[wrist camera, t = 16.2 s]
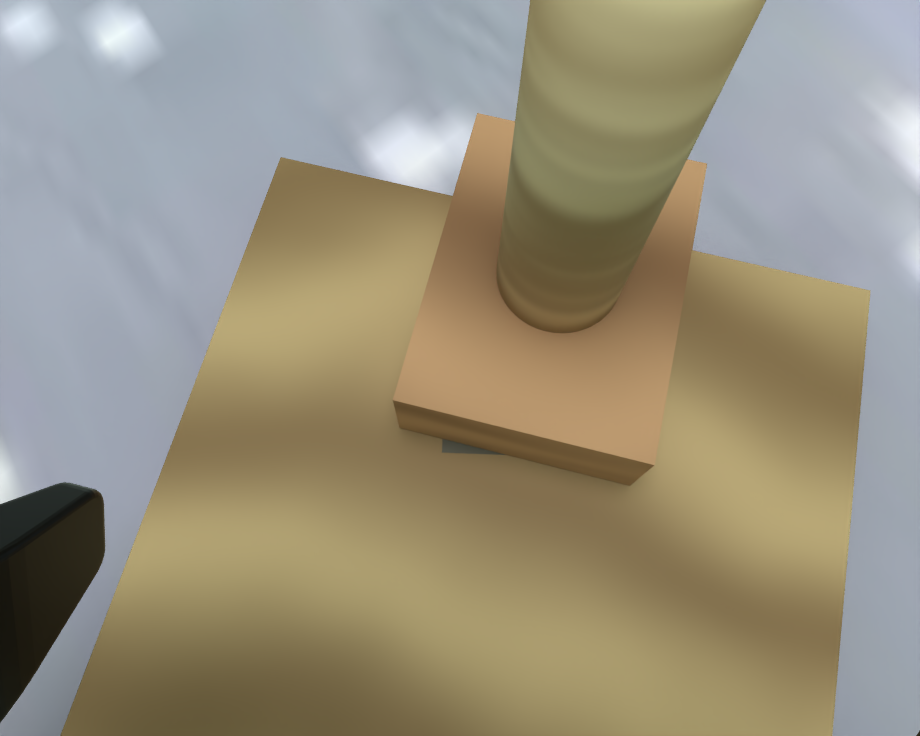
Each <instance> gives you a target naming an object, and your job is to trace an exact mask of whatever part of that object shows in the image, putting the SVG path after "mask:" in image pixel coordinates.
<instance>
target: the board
mask: <svg viewBox="0 0 920 736" xmlns="http://www.w3.org/2000/svg"><path fill="white" fill-rule="evenodd" d="M452 197H453V196H450V195H445V194H441V193H436V192H432V191H428V190H423V189H419V188H414V187H410V186H405V185H401V184H397V183H392V182H388V181H383V180H379V179H375V178H370V177H366V176H361V175H357V174H352V173H348V172H344V171H339V170H335V169H330V168H326V167H322V166H317V165H313V164H308V163H304V162H299V161H295V160H291V159H286V158H282V157H281V158H280V161H279V163H278V166H277V169H276V171H275V174H274V177H273V179H272V182H271V184H270V187H269V190H268V192H267V195H266V198H265V200H264V203H263V205H262V208H261V211H260V213H259V216H258V219H257V221H256V224H255V226H254V229H253V232H252V234H251V237H250V240H249V242H248V245H247V247H246V250H245V253H244V255H243V258H242V261H241V263H240V266H239V268H238V271H237V274H236V276H235V279H234V282H233V284H232V287H231V289H230V292H229V295H228V297H227V300H226V303H225V305H224V308H223V310H222V313H221V316H220V318H219V321H218V324H217V326H216V329H215V331H214V334H213V337H212V339H211V342H210V345H209V347H208V350H207V352H206V355H205V358H204V360H203V363H202V366H201V368H200V371H199V373H198V376H197V379H196V381H195V384H194V387H193V389H192V392H191V394H190V397H189V400H188V402H187V405H186V408H185V410H184V413H183V415H182V418H181V421H180V423H179V426H178V429H177V431H176V434H175V436H174V439H173V442H172V444H171V447H170V450H169V452H168V455H167V457H166V460H165V463H164V465H163V468H162V471H161V473H160V476H159V478H158V481H157V484H156V486H155V489H154V492H153V494H152V497H151V499H150V502H149V505H148V507H147V510H146V513H145V515H144V518H143V520H142V523H141V526H140V528H139V531H138V534H137V536H136V539H135V541H134V544H133V547H132V549H131V552H130V555H129V557H128V560H127V562H126V565H125V568H124V570H123V573H122V576H121V578H120V581H119V583H118V586H117V589H116V591H115V594H114V597H113V599H112V602H111V604H110V607H109V610H108V612H107V615H106V617H105V620H104V623H103V625H102V628H101V631H100V633H99V636H98V638H97V641H96V644H95V646H94V649H93V652H92V654H91V657H90V659H89V662H88V665H87V667H86V670H85V673H84V675H83V678H82V680H81V683H80V686H79V688H78V691H77V694H76V696H75V699H74V701H73V704H72V707H71V709H70V712H69V715H68V717H67V720H66V722H65V725H64V728H63V730H62V733H61V736H832V731H833V719H834V707H835V696H836V684H837V673H838V661H839V649H840V638H841V626H842V614H843V603H844V591H845V580H846V568H847V556H848V545H849V533H850V522H851V510H852V498H853V487H854V475H855V464H856V452H857V440H858V429H859V417H860V405H861V394H862V382H863V371H864V359H865V347H866V336H867V324H868V313H869V301H870V290H865V289H861V288H856V287H852V286H847V285H843V284H839V283H834V282H830V281H825V280H821V279H817V278H812V277H808V276H803V275H799V274H794V273H790V272H786V271H781V270H777V269H772V268H768V267H764V266H759V265H755V264H750V263H746V262H741V261H737V260H733V259H728V258H724V257H719V256H715V255H710V254H706V253H702V252H697V251H693V250H692V253H691V259H690V265H689V271H688V276H687V282H686V288H685V294H684V299H683V305H682V311H681V317H680V323H679V328H678V334H677V340H676V346H675V351H674V357H673V363H672V369H671V374H670V380H669V386H668V392H667V397H666V403H665V409H664V415H663V420H662V426H661V432H660V438H659V443H658V449H657V455H656V461H655V465H654V466H653V467H652V468H651V469H650V470H648V471H647V472H646V473H645V474H644V475H642V476H641V477H640V478H639V479H637V480H636V481H635V482H634V483H633V484H631V485H630V486H628V485H624V484H620V483H616V482H612V481H609V480H605V479H601V478H597V477H593V476H589V475H585V474H581V473H577V472H573V471H569V470H565V469H561V468H557V467H553V466H549V465H545V464H541V463H537V462H533V461H529V460H525V459H521V458H517V457H513V456H509V455H505V454H501V453H497V452H493V451H489V450H485V449H481V448H477V447H473V446H469V445H465V444H461V443H457V442H453V441H449V440H445V439H441V438H437V437H433V436H429V435H425V434H421V433H417V432H413V431H409V430H405V429H401V428H399V424H398V420H397V416H396V412H395V408H394V403H393V397H394V394H395V390H396V387H397V384H398V380H399V377H400V374H401V370H402V367H403V363H404V360H405V357H406V353H407V350H408V346H409V343H410V340H411V336H412V333H413V329H414V326H415V323H416V319H417V316H418V313H419V309H420V306H421V302H422V299H423V296H424V292H425V289H426V285H427V282H428V279H429V275H430V272H431V269H432V265H433V262H434V258H435V255H436V252H437V248H438V245H439V241H440V238H441V235H442V231H443V228H444V225H445V221H446V218H447V214H448V211H449V208H450V204H451V201H452Z"/></svg>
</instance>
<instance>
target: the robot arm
mask: <svg viewBox="0 0 920 736" xmlns="http://www.w3.org/2000/svg"><path fill="white" fill-rule="evenodd" d="M104 553H105V526H104V502H103V497H102V495H101V494H100V492H98V491H97V490H95V489H92V488H88V487H84V486H80V485H76V484H73V483H66V482H64V483H59V484H55V485H53V486H50V487H47V488H44V489H41V490H39V491H36V492H33V493H30V494H28V495H25V496H22V497H19V498H16V499H14V500H11V501H8V502H5V503H3V504H0V722H1V721H2V720H3V718H4V717H5V716H6V715H7V713H8V712H9V710H10V709H11V708H12V706H13V705H14V704H15V702H16V701H17V699H18V698H19V697H20V695H21V694H22V693H23V691H24V690H25V688H26V686H27V685H28V683H29V682H30V680H31V679H32V677H33V676H34V674H35V673H36V671H37V669H38V668H39V666H40V665H41V663H42V661H43V660H44V658H45V656H46V655H47V653H48V652H49V650H50V648H51V647H52V645H53V643H54V642H55V640H56V639H57V637H58V635H59V634H60V632H61V630H62V629H63V627H64V626H65V624H66V622H67V621H68V619H69V617H70V616H71V614H72V613H73V611H74V609H75V608H76V606H77V604H78V603H79V601H80V600H81V598H82V596H83V595H84V593H85V591H86V590H87V588H88V587H89V585H90V583H91V582H92V580H93V578H94V577H95V575H96V574H97V572H98V570H99V568H100V566H101V564H102V561H103V558H104ZM917 736H920V731H919V733H918V734H917Z"/></svg>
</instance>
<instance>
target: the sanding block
mask: <svg viewBox="0 0 920 736" xmlns="http://www.w3.org/2000/svg"><path fill="white" fill-rule="evenodd" d="M765 2H766V0H530V7H529V15H528V23H527V31H526V39H525V47H524V55H523V63H522V71H521V79H520V87H519V95H518V103H517V111H516V119H515V121H510V120H506V119H501V118H497V117H492V116H488V115H483V114H479V113H477V116H476V120H475V123H474V126H473V130H472V133H471V136H470V140H469V143H468V147H467V150H466V153H465V157H464V160H463V164H462V167H461V170H460V174H459V177H458V180H457V184H456V187H455V191H454V194H453V197H452V201H451V204H450V208H449V211H448V214H447V218H446V221H445V225H444V228H443V231H442V235H441V238H440V241H439V245H438V248H437V252H436V255H435V258H434V262H433V265H432V269H431V272H430V275H429V279H428V282H427V285H426V289H425V292H424V296H423V299H422V302H421V306H420V309H419V313H418V316H417V319H416V323H415V326H414V329H413V333H412V336H411V340H410V343H409V346H408V350H407V353H406V357H405V360H404V363H403V367H402V370H401V374H400V377H399V380H398V384H397V387H396V390H395V394H394V397H393V403H394V408H395V412H396V416H397V420H398V424H399V428H401V429H405V430H409V431H413V432H417V433H421V434H425V435H429V436H433V437H437V438H441V439H445V440H449V441H453V442H457V443H461V444H465V445H469V446H473V447H477V448H481V449H485V450H489V451H493V452H497V453H501V454H505V455H509V456H513V457H517V458H521V459H525V460H529V461H533V462H537V463H541V464H545V465H549V466H553V467H557V468H561V469H565V470H569V471H573V472H577V473H581V474H585V475H589V476H593V477H597V478H601V479H605V480H609V481H612V482H616V483H620V484H624V485H628V486H630V485H631V484H633V483H634V482H635V481H636V480H637V479H639V478H640V477H641V476H642V475H644V474H645V473H646V472H647V471H648V470H650V469H651V468H652V467H653V466H654V465H655V461H656V455H657V449H658V443H659V438H660V432H661V426H662V420H663V415H664V409H665V403H666V397H667V392H668V386H669V380H670V374H671V369H672V363H673V357H674V351H675V346H676V340H677V334H678V328H679V323H680V317H681V311H682V305H683V299H684V294H685V288H686V282H687V276H688V271H689V265H690V259H691V253H692V248H693V242H694V236H695V230H696V225H697V219H698V213H699V207H700V202H701V196H702V190H703V184H704V179H705V173H706V167H707V164H706V163H701V162H697V161H692V160H688V159H687V158H688V156H689V154H690V152H691V150H692V148H693V146H694V144H695V142H696V140H697V138H698V136H699V134H700V132H701V130H702V128H703V126H704V124H705V122H706V120H707V118H708V116H709V114H710V112H711V110H712V108H713V106H714V104H715V102H716V100H717V98H718V96H719V94H720V92H721V90H722V88H723V86H724V84H725V82H726V80H727V78H728V76H729V74H730V72H731V70H732V68H733V66H734V64H735V62H736V60H737V58H738V56H739V54H740V52H741V50H742V48H743V46H744V44H745V42H746V40H747V38H748V36H749V34H750V32H751V30H752V28H753V26H754V24H755V22H756V20H757V18H758V16H759V14H760V12H761V10H762V8H763V6H764V4H765Z"/></svg>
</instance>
